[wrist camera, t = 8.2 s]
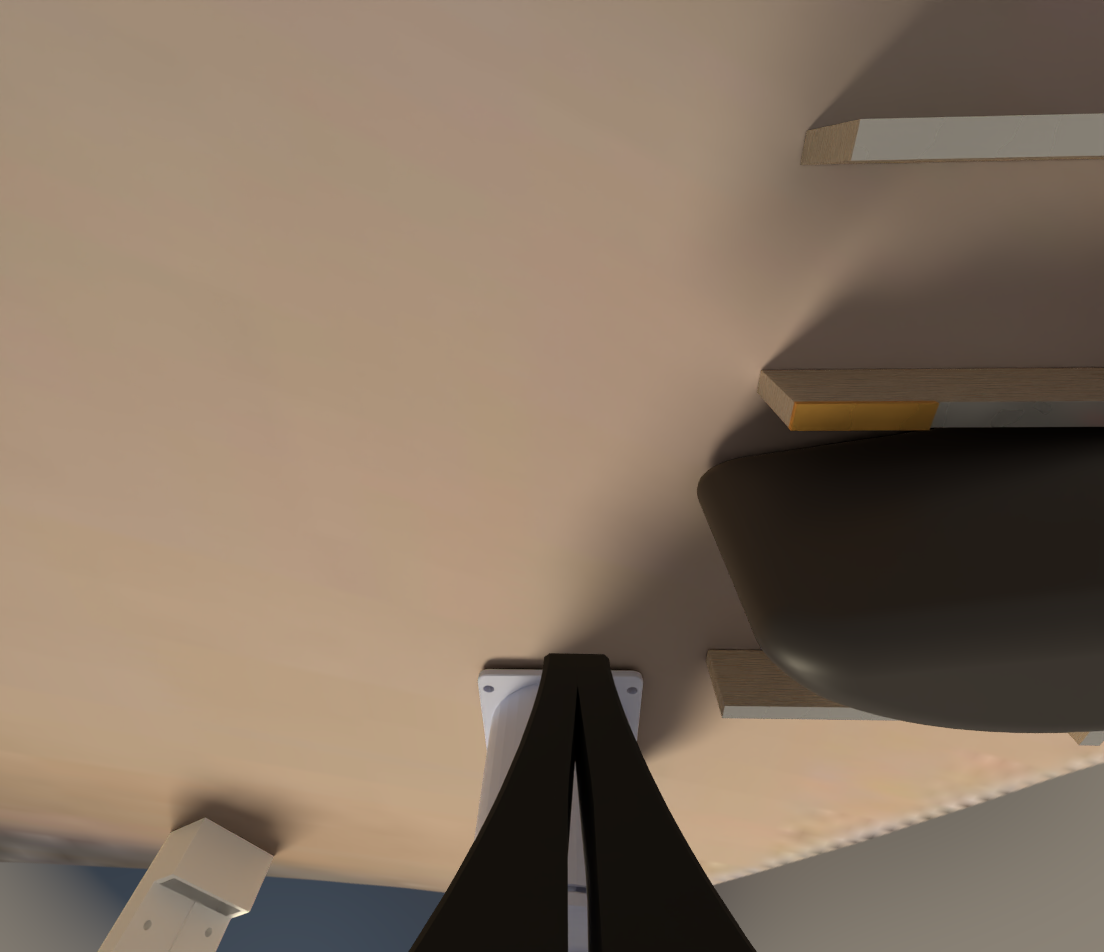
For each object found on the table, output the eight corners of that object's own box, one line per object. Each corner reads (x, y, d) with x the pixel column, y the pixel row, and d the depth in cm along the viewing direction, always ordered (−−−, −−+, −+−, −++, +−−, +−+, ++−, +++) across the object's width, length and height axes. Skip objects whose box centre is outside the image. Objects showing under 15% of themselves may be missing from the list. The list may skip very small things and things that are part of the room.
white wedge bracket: (269, 936, 36) (135, 1084, 28) (211, 802, 37) (65, 907, 29) (304, 925, 35) (177, 1076, 27) (244, 788, 36) (103, 892, 28)
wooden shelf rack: (1027, 664, 24) (1104, 745, 21) (705, 661, 25) (728, 740, 21) (1378, 118, 14) (1654, 95, 10) (806, 130, 14) (883, 113, 11)
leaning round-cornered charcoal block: (694, 549, 22) (772, 775, 13) (687, 453, 19) (776, 652, 11) (1124, 494, 20) (1523, 716, 11) (1172, 380, 17) (1709, 555, 9)
